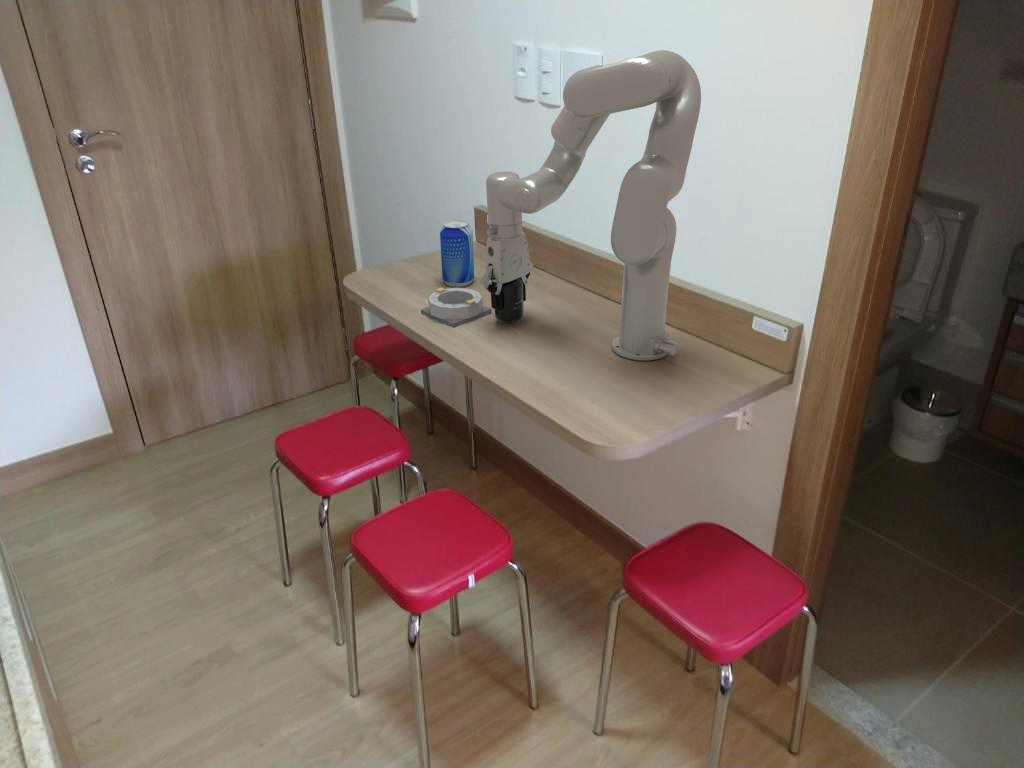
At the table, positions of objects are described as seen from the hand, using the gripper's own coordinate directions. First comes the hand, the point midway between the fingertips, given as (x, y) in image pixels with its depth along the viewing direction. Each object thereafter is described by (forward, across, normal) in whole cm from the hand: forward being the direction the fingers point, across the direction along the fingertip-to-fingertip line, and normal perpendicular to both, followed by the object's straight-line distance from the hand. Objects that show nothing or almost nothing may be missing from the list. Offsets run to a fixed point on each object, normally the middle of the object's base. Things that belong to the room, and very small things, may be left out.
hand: (508, 303), depth 184 cm
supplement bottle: (+4, 0, 0) cm, 4 cm away
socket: (+4, -5, +13) cm, 15 cm away
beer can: (+4, +9, +28) cm, 30 cm away
